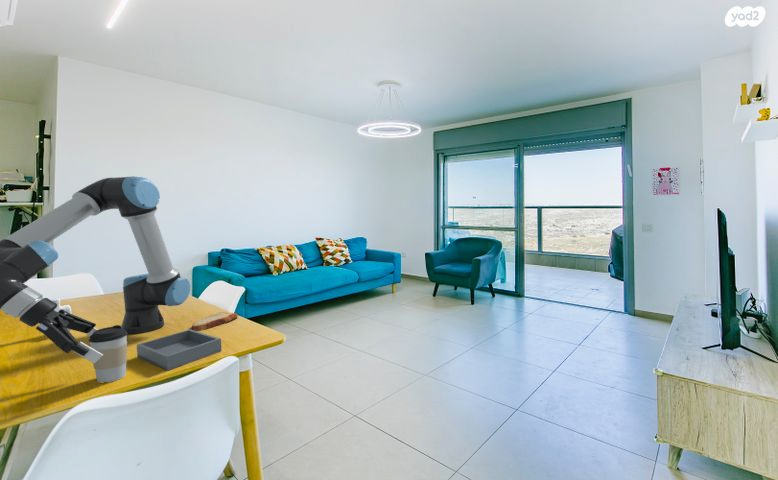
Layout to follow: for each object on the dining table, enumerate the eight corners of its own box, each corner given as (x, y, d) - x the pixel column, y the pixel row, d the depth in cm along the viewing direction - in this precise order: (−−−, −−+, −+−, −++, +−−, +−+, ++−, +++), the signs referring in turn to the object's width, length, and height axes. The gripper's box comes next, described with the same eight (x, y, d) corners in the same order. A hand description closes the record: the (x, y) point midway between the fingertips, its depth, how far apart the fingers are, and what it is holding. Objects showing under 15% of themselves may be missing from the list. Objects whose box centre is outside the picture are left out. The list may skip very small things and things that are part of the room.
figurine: (77, 332, 146) (74, 297, 145) (48, 340, 138) (44, 302, 136) (68, 330, 149) (65, 295, 148) (38, 337, 141) (35, 300, 139)
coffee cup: (109, 386, 100) (105, 334, 99) (83, 383, 102) (79, 333, 101) (137, 371, 109) (134, 324, 108) (113, 369, 111) (110, 323, 110)
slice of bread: (190, 332, 145) (189, 324, 145) (196, 320, 162) (195, 312, 162) (237, 327, 152) (236, 318, 152) (238, 315, 169) (238, 308, 168)
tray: (137, 357, 120) (136, 344, 120) (190, 340, 135) (189, 329, 135) (167, 370, 110) (166, 356, 109) (221, 350, 125) (220, 338, 124)
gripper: (38, 307, 106) (104, 346, 114) (-6, 332, 84) (81, 378, 92) (59, 288, 108) (123, 328, 116) (23, 307, 86) (105, 355, 94)
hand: (105, 350), depth 104 cm, fingers open, 13 cm apart
